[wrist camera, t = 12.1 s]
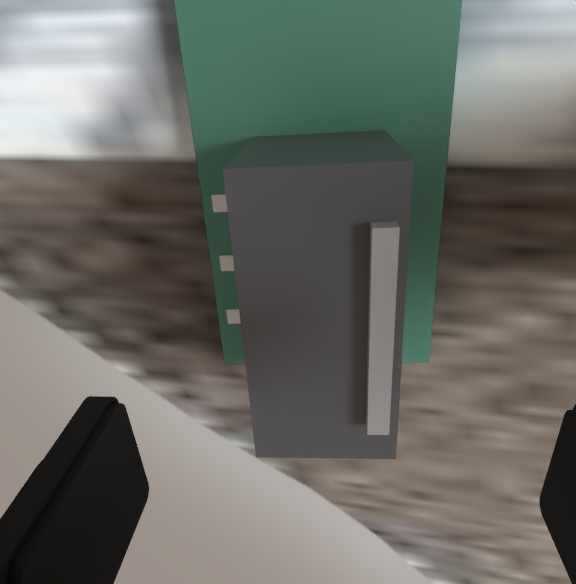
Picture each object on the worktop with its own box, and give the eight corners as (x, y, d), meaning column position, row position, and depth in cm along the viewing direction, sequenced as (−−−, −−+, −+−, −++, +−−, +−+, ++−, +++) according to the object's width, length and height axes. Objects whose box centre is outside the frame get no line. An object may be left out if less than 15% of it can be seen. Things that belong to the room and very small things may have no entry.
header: (178, -23, 19) (117, -60, 13) (458, -46, 18) (519, -96, 12) (228, 351, 27) (203, 427, 21) (424, 350, 26) (451, 428, 20)
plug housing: (254, 136, 20) (218, 173, 13) (385, 129, 20) (417, 164, 13) (273, 359, 25) (254, 468, 18) (377, 358, 25) (397, 470, 18)
